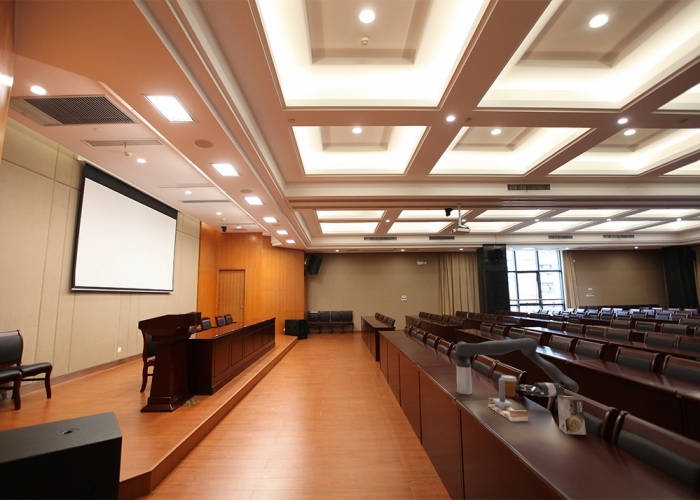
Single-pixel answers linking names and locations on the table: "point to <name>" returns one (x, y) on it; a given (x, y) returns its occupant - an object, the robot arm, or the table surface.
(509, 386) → the disposable coffee cup
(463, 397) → the table surface
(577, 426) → the coffee box
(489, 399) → the rail bed
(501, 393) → the carriage
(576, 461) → the table surface
